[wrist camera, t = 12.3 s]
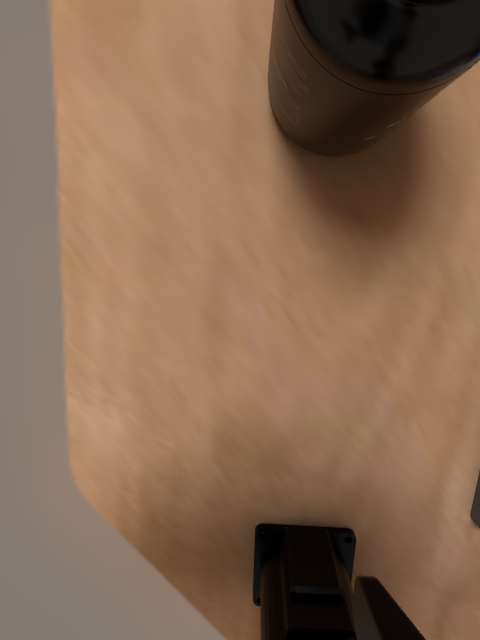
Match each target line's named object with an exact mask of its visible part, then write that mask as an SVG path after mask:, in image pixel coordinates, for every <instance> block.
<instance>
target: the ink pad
mask: <svg viewBox="0 0 480 640" xmlns="http://www.w3.org/2000/svg"><path fill="white" fill-rule="evenodd" d="M471 517H472V518H473V520H474V521H475V522H476V524H477V525H478V526H479V528H480V474H479V478H478V483H477V488H476V493H475V497H474V502H473V507H472V512H471Z"/></svg>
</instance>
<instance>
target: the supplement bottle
mask: <svg viewBox="0 0 480 640" xmlns="http://www.w3.org/2000/svg"><path fill="white" fill-rule="evenodd" d="M479 60H480V0H275V1H274V12H273V22H272V33H271V44H270V55H269V68H268V89H269V97H270V102H271V105H272V109H273V111H274V114H275V116H276V118H277V120H278V122H279V124H280V126H281V127H282V128H283V130H284V131H285V132H286V134H287V135H288V136H289V137H290V138H291V139H292V140H293V141H295V142H296V143H297V144H299V145H300V146H302V147H303V148H305V149H307V150H309V151H311V152H314V153H317V154H321V155H327V156H342V155H348V154H352V153H355V152H358V151H361V150H363V149H365V148H367V147H369V146H371V145H373V144H374V143H376V142H377V141H378V140H380V139H381V138H383V137H384V136H385V135H387V134H388V133H389V132H391V131H392V130H393V129H394V128H396V127H397V126H398V125H399V124H401V123H402V122H403V121H404V120H406V119H407V118H408V117H409V116H411V115H412V114H413V113H414V112H416V111H417V110H418V109H420V108H421V107H422V106H423V105H425V104H426V103H427V102H428V101H430V100H431V99H432V98H433V97H435V96H436V95H437V94H438V93H440V92H441V91H442V90H443V89H445V88H446V87H447V86H449V85H450V84H451V83H452V82H454V81H455V80H456V79H457V78H459V77H460V76H461V75H462V74H464V73H465V72H466V71H467V70H469V69H470V68H471V67H472V66H473V65H475V64H476V63H477V62H478V61H479Z"/></svg>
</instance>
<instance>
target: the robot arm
mask: <svg viewBox="0 0 480 640" xmlns="http://www.w3.org/2000/svg"><path fill="white" fill-rule="evenodd" d="M261 532H265V533H261ZM348 536H349V537H348ZM345 537H348V538H345ZM355 545H356V537H355V534H354V532H353V530H351V529H349V528H334V527H315V526H296V525H277V524H259V525H258V526H257V527H256V529H255V553H254V581H253V603H254V604H255V605H257V606H260V607H261V640H426V639H425V638H424V637H423V636H422V634H421V633H420V632H419V631H418V629H417V628H416V627H415V626H414V624H413V623H412V622H411V620H410V619H409V618H408V617H407V615H406V614H405V613H404V612H403V610H402V609H401V608H400V607H399V605H398V604H397V603H396V602H395V600H394V599H393V598H392V597H391V595H390V594H389V593H388V591H387V590H386V589H385V588H384V586H383V585H382V584H381V583H380V581H379V580H378V579H377V578H375V577H373V576H362V575H359V576H357V578H356V580H355V587H354V594H353V591H352V587H351V579H352V570H353V562H354V554H355Z"/></svg>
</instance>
